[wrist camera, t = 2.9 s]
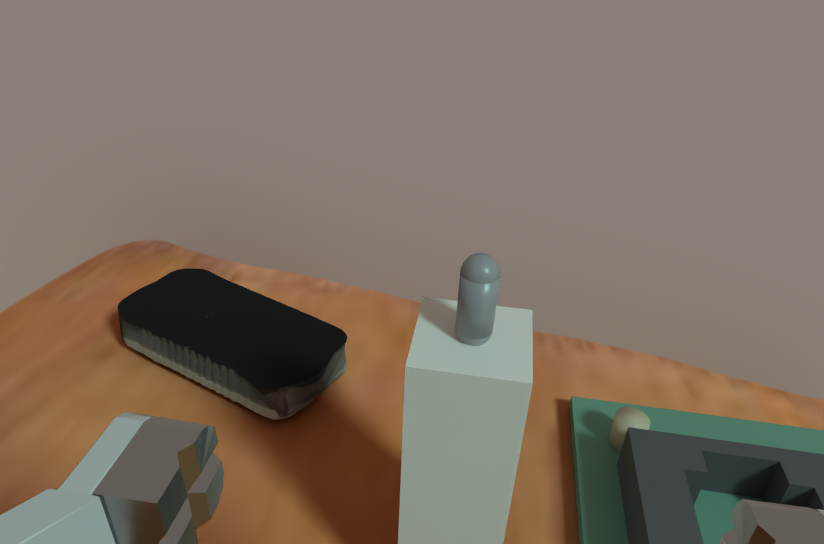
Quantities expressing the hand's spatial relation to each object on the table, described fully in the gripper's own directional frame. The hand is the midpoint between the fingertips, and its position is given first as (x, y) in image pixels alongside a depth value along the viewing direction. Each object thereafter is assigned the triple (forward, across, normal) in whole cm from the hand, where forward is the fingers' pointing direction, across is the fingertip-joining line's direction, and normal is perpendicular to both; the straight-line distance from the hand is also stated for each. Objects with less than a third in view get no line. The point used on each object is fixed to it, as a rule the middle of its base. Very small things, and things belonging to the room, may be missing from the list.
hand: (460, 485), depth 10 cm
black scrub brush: (+26, +17, +22) cm, 38 cm away
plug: (+12, 0, +21) cm, 25 cm away
